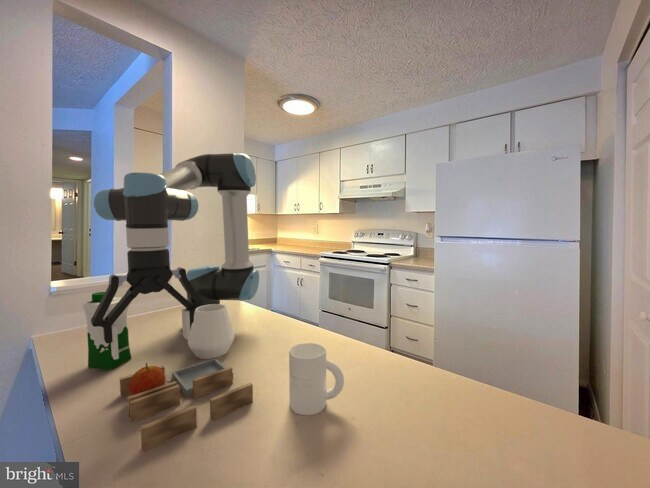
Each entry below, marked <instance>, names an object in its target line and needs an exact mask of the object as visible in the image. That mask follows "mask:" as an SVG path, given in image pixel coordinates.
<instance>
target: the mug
mask: <svg viewBox="0 0 650 488" xmlns="http://www.w3.org/2000/svg"><path fill="white" fill-rule="evenodd" d="M288 355H289V356H288V364H289V366H288V369H289V370H288V371H289V384H288V385H289V387H288V388H289V389H288V390H289V407H290V409H291V410H292V412H294V413H295V414H297V415H300V416H312V415H317V414H318V413H320V412H322V411H323V410H324V409H325V408H326V406H327V401H328V400H332V399H335V398H336V397H338V395H339V394H341V392H342V391H343V389H344V386H345V377H344V374H343V371H342V370H341V368H340V366H339V365H338V364H336V362H334V361H332V360H330V359H327V349H326V347H324V346H323V345H321V344H319V343H314V342H313V343H312V342H305V343H299V344H296V345H294V346H291V348H290V349H289V351H288ZM327 370H328V371H329V372H331V374H332V376H333V377H334V380H335V381H334V385H333V387H331V388H330V389H327Z"/></svg>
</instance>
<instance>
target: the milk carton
mask: <svg viewBox="0 0 650 488" xmlns="http://www.w3.org/2000/svg"><path fill="white" fill-rule="evenodd" d="M105 292H106V291H99V292H98V291H97V292H93V293H92V294H91V300H89V301H87V302H83V303H82V307H83V311H84V314H85V317H86V331H87V333H86V334H87V349H88V350H87V368H88V369H94V370H101V369H102V371H103V370H104V371H112V370H113V369H115V368H116V367H119V366H120V364H121V365H123V364H125V363H127V362H128V361H130V360H132V354H131V347H130V341H129V317H128V316H129V314H128V313H129V308H130V304H129V305H128V306H127V308H126V309H125V310H124V311H123V312H122V314H121V315H120V316H119V317H118V318H117V320H116V321H115V322H114V323H115V325H116V326H117V336H118V353H119V359H116V360H114V359H113V357H112V351H111V343H107V344H106V342H105V340H104V333H103V327H99V326H97V327H94V326H93V325H92V323H91V319H92V317H93V315H94V313H95V311H96V309H97V307H98V305H99V303H100V302H101V300H102V298H103V296H104V294H105ZM121 298H122V297H115V296H114V298H113V300H112V302H111V304H110V306H109V308H108V310H107V312H106V314H105V316H104V317H103V319H105V317H106V316H107V315H108V314H109V313H110V312H111V310H112V309H113V308H114V307H115V306H116V304H117V303H118V302H119V301H120V300H121ZM122 363H123V364H122Z"/></svg>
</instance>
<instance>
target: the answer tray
mask: <svg viewBox="0 0 650 488" xmlns="http://www.w3.org/2000/svg"><path fill="white" fill-rule="evenodd" d="M225 368H227V367H226V366H225V365H224V364H223V363H222V362H221V361H219V360H218V359H217V358H211V359H208V360H206V361H202V362H200V363H196V364H193V365H190V366H187V367H184V368H180V369H177V370H174V371H172V372H171V379H172V380H173V382H174V381H176V382H177V385H179V386H180V391H182V393H183V394H184V396H185V397H186V398H188V397H190V396H193V379H196V378H199V377H202V376H205V375H208V374H211V373H213V372H216V371H219V370H222V369H225ZM233 380H234V372H232V381H233Z"/></svg>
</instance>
